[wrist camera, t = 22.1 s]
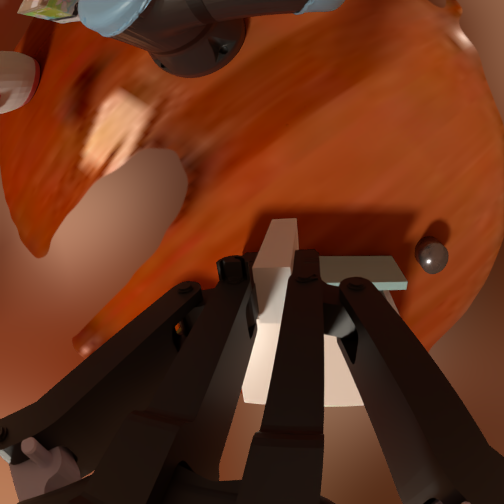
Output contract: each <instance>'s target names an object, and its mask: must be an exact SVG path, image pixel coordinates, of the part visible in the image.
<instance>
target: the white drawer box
mask: <svg viewBox="0 0 504 504" xmlns="http://www.w3.org/2000/svg"><path fill="white" fill-rule="evenodd" d="M381 294H382V295H383V296H384V297H385V299H386V300H387V301H388V302H389V303H390V305H391V306H392V307H393V308H394V310H395V311H396V312H397V313H398V310H397V308H396V306H395V303H394V301H393V299H392V296H391V294H390V292H389V290H381ZM398 314H399V313H398ZM399 316H400V315H399ZM280 326H281V323H259V315H258V317H257V328H258V331H257V334H256V338H255V342H254V346H253V349H252V353H251V356H250V360H249V364H248V367H247V371H246V374H245V378H244V381H243V385H242V391H243V397H244V402H246V403H255V404H266V400H267V395H268V390H269V385H270V380H271V375H272V370H273V364H274V359H275V354H276V348H277V343H278V337H279V331H280ZM360 405H364V403H363V401H362V399H361V396H360V394H359V391H358V389H357V387H356V384H355V382H354V380H353V377H352V375H351V373H350V370H349V368H348V366H347V364H346V361H345V359H344V357H343V355H342V352H341V350H340V348H339V346H338V343H337V339H336V337H335V336H330V335H325V334H324V407H335V406H360Z"/></svg>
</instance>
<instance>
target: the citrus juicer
mask: <svg viewBox="0 0 504 504" xmlns="http://www.w3.org/2000/svg"><path fill="white" fill-rule="evenodd" d="M39 78H40V66H39V63H38V62H37V61H36V60H35V59H34V58H32V57H29V56H27V55H25V54H22V53H18V52H7V51H0V114H1V113H6V112H9V111H12V110H14V109H16V108H19V107H21V106H23V105H25V104H26V103H28V102H29V101H30V100H31V98H32V97H33V95H34V93H35V91H36V89H37V86H38V83H39Z"/></svg>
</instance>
